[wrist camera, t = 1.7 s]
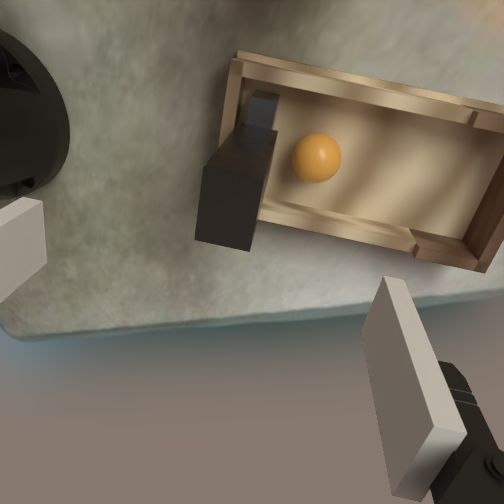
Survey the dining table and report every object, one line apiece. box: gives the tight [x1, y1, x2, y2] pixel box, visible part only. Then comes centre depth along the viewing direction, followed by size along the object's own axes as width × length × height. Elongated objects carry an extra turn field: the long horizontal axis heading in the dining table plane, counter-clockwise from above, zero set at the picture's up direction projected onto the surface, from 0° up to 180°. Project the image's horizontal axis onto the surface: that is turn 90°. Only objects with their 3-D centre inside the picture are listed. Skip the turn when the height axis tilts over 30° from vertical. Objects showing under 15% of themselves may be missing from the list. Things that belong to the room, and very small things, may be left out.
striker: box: [194, 90, 280, 252], centre depth 27 cm, size 3×8×16 cm, turn 170°
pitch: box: [218, 50, 504, 273], centre depth 33 cm, size 24×13×5 cm, turn 80°
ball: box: [292, 133, 342, 183], centre depth 33 cm, size 4×4×4 cm
